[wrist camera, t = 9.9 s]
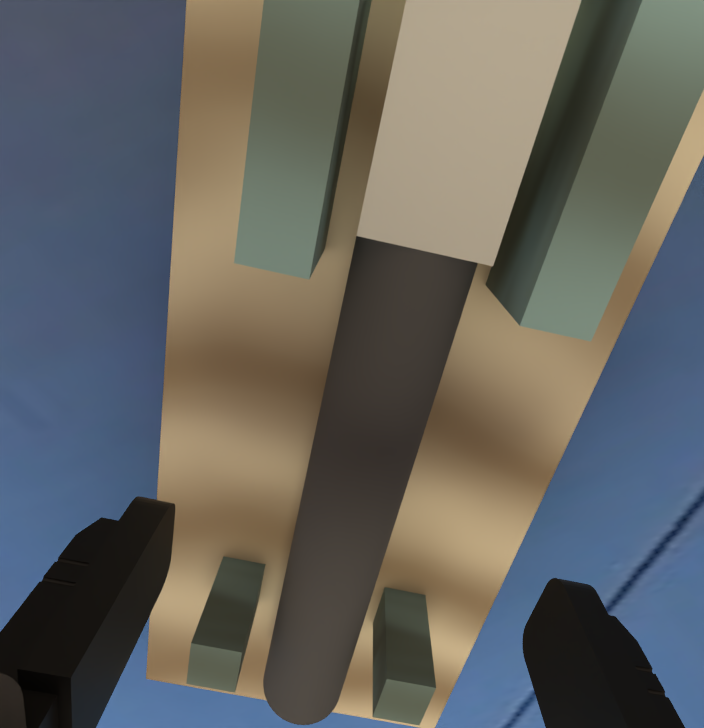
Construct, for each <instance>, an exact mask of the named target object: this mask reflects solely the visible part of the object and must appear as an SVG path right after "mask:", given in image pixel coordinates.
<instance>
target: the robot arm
mask: <svg viewBox="0 0 704 728" xmlns="http://www.w3.org/2000/svg"><path fill="white" fill-rule="evenodd" d="M174 521H175V504H174V503H170V502H165V501H160V500H154V499H149V498H144V497H139V496H138V497H136V498H135V499H134V500H133V501H132V502H131V504H130V505H129V507H128V508H127V509H126V511H125V512H124V514H123V515H122V517H121V518H120V520H119V521H117V520H112V519H106V518H100V519H99V520H97V521H96V522H94V523H93V524H91V525H90V526H88V527H87V528H85V529H84V530H82V531H81V532H79V533H78V534H76V535H75V537H74V538H73V539H72V541H71V542H70V543H69V544H68V546H67V547H66V548H65V550H64V551H63V552H62V553H61V555H60V556H59V558H58V561H57V562H55V563H54V564H53V565H52V566H51V568H50V569H49V570H48V572H47V573H46V574H45V575H44V578H43V580H42V582H39V583H38V584H37V586H36V587H35V588H34V590H33V591H32V592H31V593H30V595H29V596H28V597H27V599H26V600H25V601H24V602H23V604H22V605H21V606H20V608H19V609H18V610H17V611H16V613H15V614H14V615H13V617H12V618H11V619H10V621H9V622H8V623H7V624H6V626H5V627H4V628H3V630H2V631H1V632H0V728H96V726H97V724H98V722H99V720H100V718H101V716H102V714H103V712H104V710H105V708H106V705H107V703H108V701H109V699H110V697H111V695H112V693H113V691H114V689H115V687H116V685H117V682H118V680H119V678H120V676H121V674H122V672H123V670H124V668H125V666H126V664H127V662H128V660H129V657H130V655H131V653H132V651H133V649H134V647H135V645H136V643H137V641H138V639H139V637H140V634H141V632H142V630H143V628H144V626H145V624H146V622H147V620H148V618H149V616H150V614H151V612H152V609H153V607H154V605H155V603H156V601H157V599H158V597H159V595H160V593H161V591H162V588H163V586H164V583H165V581H166V578H167V574H168V571H169V567H170V562H171V555H172V544H173V533H174ZM523 653H524V658H525V662H526V665H527V668H528V671H529V675H530V678H531V681H532V684H533V688H534V691H535V694H536V697H537V701H538V704H539V707H540V710H541V714H542V717H543V720H544V723H545V727H546V728H685V727H684V725H683V723H682V721H681V720H680V718H679V716H678V714H677V712H676V710H675V709H674V707H673V705H672V703H671V701H670V700H669V698H667V697H665V691H664V689H663V687H662V685H661V683H660V682H659V680H658V678H657V676H656V674H653V673H652V667H651V665H650V663H649V662H648V660H647V658H646V656H645V654H644V653H643V651H642V649H641V647H640V645H639V643H638V642H637V640H636V639H635V638H634V637H633V636H632V635H631V634H630V633H629V632H628V630H627V629H626V628H625V627H624V626H623V625H622V624H621V623H620V621H619V620H618V619H617V618H616V617H615V616H610V615H608V613H607V611H606V609H605V607H604V605H603V603H602V601H601V600H600V598H599V596H598V594H597V592H596V590H595V589H594V588H593V587H592V586H590V585H588V584H583V583H578V582H572V581H567V580H562V579H557V578H553V579H551V580H550V581H549V582H548V583H547V585H546V587H545V589H544V591H543V593H542V595H541V597H540V598H539V600H538V602H537V604H536V606H535V608H534V610H533V612H532V614H531V616H530V618H529V620H528V622H527V624H526V626H525V629H524V633H523Z"/></svg>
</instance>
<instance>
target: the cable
mask: <svg viewBox="0 0 704 728" xmlns="http://www.w3.org/2000/svg"><path fill="white" fill-rule="evenodd" d="M580 3H581V0H406V3H405V8H404V13H403V17H402V22H401V27H400V32H399V36H398V41H397V46H396V51H395V55H394V60H393V65H392V70H391V74H390V79H389V84H388V89H387V93H386V98H385V103H384V108H383V112H382V117H381V122H380V127H379V131H378V136H377V141H376V145H375V150H374V155H373V160H372V164H371V169H370V174H369V179H368V183H367V188H366V193H365V198H364V202H363V207H362V212H361V217H360V221H359V226H358V231H357V236H356V241H355V245H354V250H353V255H352V260H351V264H350V269H349V274H348V279H347V283H346V288H345V293H344V298H343V302H342V307H341V312H340V317H339V321H338V326H337V331H336V336H335V340H334V345H333V350H332V354H331V359H330V364H329V369H328V373H327V378H326V383H325V388H324V392H323V397H322V402H321V407H320V411H319V416H318V421H317V426H316V430H315V435H314V440H313V445H312V449H311V454H310V459H309V464H308V468H307V473H306V478H305V483H304V487H303V492H302V497H301V502H300V506H299V511H298V516H297V521H296V525H295V530H294V535H293V540H292V544H291V549H290V554H289V559H288V563H287V568H286V573H285V578H284V582H283V587H282V592H281V597H280V601H279V606H278V611H277V616H276V620H275V625H274V630H273V635H272V639H271V644H270V649H269V654H268V658H267V663H266V668H265V673H264V678H263V688H264V694H265V697H266V700H267V702H268V704H269V705H270V707H271V708H272V710H273V711H274V712H275V713H276V714H277V715H278V716H279V717H281V718H282V719H284V720H286V721H288V722H290V723H294V724H299V725H309V724H313V723H316V722H319V721H321V720H323V719H324V718H326V717H327V716H328V715H329V714H330V713H331V712H332V711H333V709H334V708H335V706H336V705H337V703H338V700H339V697H340V694H341V691H342V688H343V685H344V682H345V679H346V675H347V672H348V669H349V666H350V663H351V660H352V657H353V653H354V650H355V647H356V644H357V641H358V638H359V635H360V631H361V628H362V625H363V622H364V619H365V616H366V613H367V610H368V606H369V603H370V600H371V597H372V594H373V591H374V588H375V584H376V581H377V578H378V575H379V572H380V569H381V566H382V562H383V559H384V556H385V553H386V550H387V547H388V544H389V541H390V537H391V534H392V531H393V528H394V525H395V522H396V519H397V515H398V512H399V509H400V506H401V503H402V500H403V497H404V493H405V490H406V487H407V484H408V481H409V478H410V475H411V472H412V468H413V465H414V462H415V459H416V456H417V453H418V450H419V446H420V443H421V440H422V437H423V434H424V431H425V428H426V424H427V421H428V418H429V415H430V412H431V409H432V406H433V403H434V399H435V396H436V393H437V390H438V387H439V384H440V381H441V377H442V374H443V371H444V368H445V365H446V362H447V359H448V355H449V352H450V349H451V346H452V343H453V340H454V337H455V334H456V330H457V327H458V324H459V321H460V318H461V315H462V312H463V308H464V305H465V302H466V299H467V296H468V293H469V290H470V286H471V283H472V280H473V277H474V274H475V271H476V268H477V265H478V263H480V264H485V265H489V266H493V265H494V262H495V259H496V256H497V253H498V250H499V247H500V244H501V241H502V238H503V235H504V232H505V229H506V226H507V223H508V220H509V217H510V214H511V211H512V208H513V205H514V202H515V199H516V196H517V193H518V190H519V187H520V184H521V181H522V178H523V175H524V172H525V169H526V166H527V163H528V160H529V157H530V154H531V151H532V148H533V145H534V142H535V139H536V136H537V133H538V130H539V127H540V124H541V121H542V118H543V115H544V112H545V109H546V106H547V103H548V100H549V97H550V94H551V91H552V88H553V84H554V81H555V78H556V75H557V72H558V69H559V66H560V63H561V60H562V57H563V54H564V51H565V48H566V45H567V42H568V39H569V36H570V33H571V30H572V27H573V24H574V21H575V18H576V15H577V12H578V9H579V6H580Z"/></svg>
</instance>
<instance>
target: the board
mask: <svg viewBox="0 0 704 728" xmlns="http://www.w3.org/2000/svg"><path fill="white" fill-rule="evenodd" d="M405 3H406V0H187V3H186V20H185V36H184V53H183V70H182V87H181V103H180V120H179V137H178V154H177V170H176V187H175V204H174V221H173V237H172V254H171V271H170V288H169V304H168V321H167V338H166V355H165V371H164V388H163V405H162V422H161V438H160V455H159V472H158V489H157V500H160V501H165V502H170V503H174V504H175V521H174V533H173V544H172V555H171V562H170V567H169V571H168V574H167V578H166V581H165V583H164V586H163V588H162V591H161V593H160V595H159V597H158V599H157V601H156V603H155V605H154V607H153V609H152V612H151V614H150V623H149V639H148V656H147V673H146V679H151V680H156V681H162V682H167V683H173V684H179V685H184V686H190V687H195V688H201V689H207V690H212V691H218V692H223V693H229V694H235V695H240V696H246V697H252V698H257V699H263V700H266V697H265V694H264V688H263V678H264V673H265V668H266V663H267V658H268V654H269V649H270V644H271V639H272V635H273V630H274V625H275V620H276V616H277V611H278V606H279V601H280V597H281V592H282V587H283V582H284V578H285V573H286V568H287V563H288V559H289V554H290V549H291V544H292V540H293V535H294V530H295V525H296V521H297V516H298V511H299V506H300V502H301V497H302V492H303V487H304V483H305V478H306V473H307V468H308V464H309V459H310V454H311V449H312V445H313V440H314V435H315V430H316V426H317V421H318V416H319V411H320V407H321V402H322V397H323V392H324V388H325V383H326V378H327V373H328V369H329V364H330V359H331V354H332V350H333V345H334V340H335V336H336V331H337V326H338V321H339V317H340V312H341V307H342V302H343V298H344V293H345V288H346V283H347V279H348V274H349V269H350V264H351V260H352V255H353V250H354V245H355V241H356V236H357V231H358V226H359V221H360V217H361V212H362V207H363V202H364V198H365V193H366V188H367V183H368V179H369V174H370V169H371V164H372V160H373V155H374V150H375V145H376V141H377V136H378V131H379V127H380V122H381V117H382V112H383V108H384V103H385V98H386V93H387V89H388V84H389V79H390V74H391V70H392V65H393V60H394V55H395V51H396V46H397V41H398V36H399V32H400V27H401V22H402V17H403V13H404V8H405ZM703 155H704V0H581V3H580V6H579V9H578V12H577V15H576V18H575V21H574V24H573V27H572V30H571V33H570V36H569V39H568V42H567V45H566V48H565V51H564V54H563V57H562V60H561V63H560V66H559V69H558V72H557V75H556V78H555V81H554V84H553V88H552V91H551V94H550V97H549V100H548V103H547V106H546V109H545V112H544V115H543V118H542V121H541V124H540V127H539V130H538V133H537V136H536V139H535V142H534V145H533V148H532V151H531V154H530V157H529V160H528V163H527V166H526V169H525V172H524V175H523V178H522V181H521V184H520V187H519V190H518V193H517V196H516V199H515V202H514V205H513V208H512V211H511V214H510V217H509V220H508V223H507V226H506V229H505V232H504V235H503V238H502V241H501V244H500V247H499V250H498V253H497V256H496V259H495V262H494V265H493V266H489V265H485V264H480V263H478V265H477V268H476V271H475V274H474V277H473V280H472V283H471V286H470V290H469V293H468V296H467V299H466V302H465V305H464V308H463V312H462V315H461V318H460V321H459V324H458V327H457V330H456V334H455V337H454V340H453V343H452V346H451V349H450V352H449V355H448V359H447V362H446V365H445V368H444V371H443V374H442V377H441V381H440V384H439V387H438V390H437V393H436V396H435V399H434V403H433V406H432V409H431V412H430V415H429V418H428V421H427V424H426V428H425V431H424V434H423V437H422V440H421V443H420V446H419V450H418V453H417V456H416V459H415V462H414V465H413V468H412V472H411V475H410V478H409V481H408V484H407V487H406V490H405V493H404V497H403V500H402V503H401V506H400V509H399V512H398V515H397V519H396V522H395V525H394V528H393V531H392V534H391V537H390V541H389V544H388V547H387V550H386V553H385V556H384V559H383V562H382V566H381V569H380V572H379V575H378V578H377V581H376V584H375V588H374V591H373V594H372V597H371V600H370V603H369V606H368V610H367V613H366V616H365V619H364V622H363V625H362V628H361V631H360V635H359V638H358V641H357V644H356V647H355V650H354V653H353V657H352V660H351V663H350V666H349V669H348V672H347V675H346V679H345V682H344V685H343V688H342V691H341V694H340V697H339V700H338V703H337V705H336V706H335V708H334V709H333V711H332V712H336V713H341V714H347V715H352V716H358V717H364V718H369V719H375V720H380V721H386V722H392V723H397V724H403V725H408V726H414V727H420V728H435V726H436V724H437V722H438V720H439V717H440V715H441V713H442V711H443V709H444V707H445V705H446V703H447V700H448V698H449V696H450V694H451V692H452V690H453V688H454V685H455V683H456V681H457V679H458V677H459V675H460V673H461V671H462V668H463V666H464V664H465V662H466V660H467V658H468V656H469V654H470V651H471V649H472V647H473V645H474V643H475V641H476V639H477V636H478V634H479V632H480V630H481V628H482V626H483V624H484V622H485V619H486V617H487V615H488V613H489V611H490V609H491V607H492V605H493V602H494V600H495V598H496V596H497V594H498V592H499V590H500V587H501V585H502V583H503V581H504V579H505V577H506V575H507V573H508V570H509V568H510V566H511V564H512V562H513V560H514V558H515V556H516V553H517V551H518V549H519V547H520V545H521V543H522V541H523V538H524V536H525V534H526V532H527V530H528V528H529V526H530V524H531V521H532V519H533V517H534V515H535V513H536V511H537V509H538V507H539V504H540V502H541V500H542V498H543V496H544V494H545V492H546V489H547V487H548V485H549V483H550V481H551V479H552V477H553V475H554V472H555V470H556V468H557V466H558V464H559V462H560V460H561V458H562V455H563V453H564V451H565V449H566V447H567V445H568V443H569V441H570V438H571V436H572V434H573V432H574V430H575V428H576V426H577V423H578V421H579V419H580V417H581V415H582V413H583V411H584V409H585V406H586V404H587V402H588V400H589V398H590V396H591V394H592V392H593V389H594V387H595V385H596V383H597V381H598V379H599V377H600V374H601V372H602V370H603V368H604V366H605V364H606V362H607V360H608V357H609V355H610V353H611V351H612V349H613V347H614V345H615V343H616V340H617V338H618V336H619V334H620V332H621V330H622V328H623V325H624V323H625V321H626V319H627V317H628V315H629V313H630V311H631V308H632V306H633V304H634V302H635V300H636V298H637V296H638V294H639V291H640V289H641V287H642V285H643V283H644V281H645V279H646V276H647V274H648V272H649V270H650V268H651V266H652V264H653V262H654V259H655V257H656V255H657V253H658V251H659V249H660V247H661V245H662V242H663V240H664V238H665V236H666V234H667V232H668V230H669V227H670V225H671V223H672V221H673V219H674V217H675V215H676V213H677V210H678V208H679V206H680V204H681V202H682V200H683V198H684V196H685V193H686V191H687V189H688V187H689V185H690V183H691V181H692V179H693V176H694V174H695V172H696V170H697V168H698V166H699V164H700V161H701V159H702V157H703Z"/></svg>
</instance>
